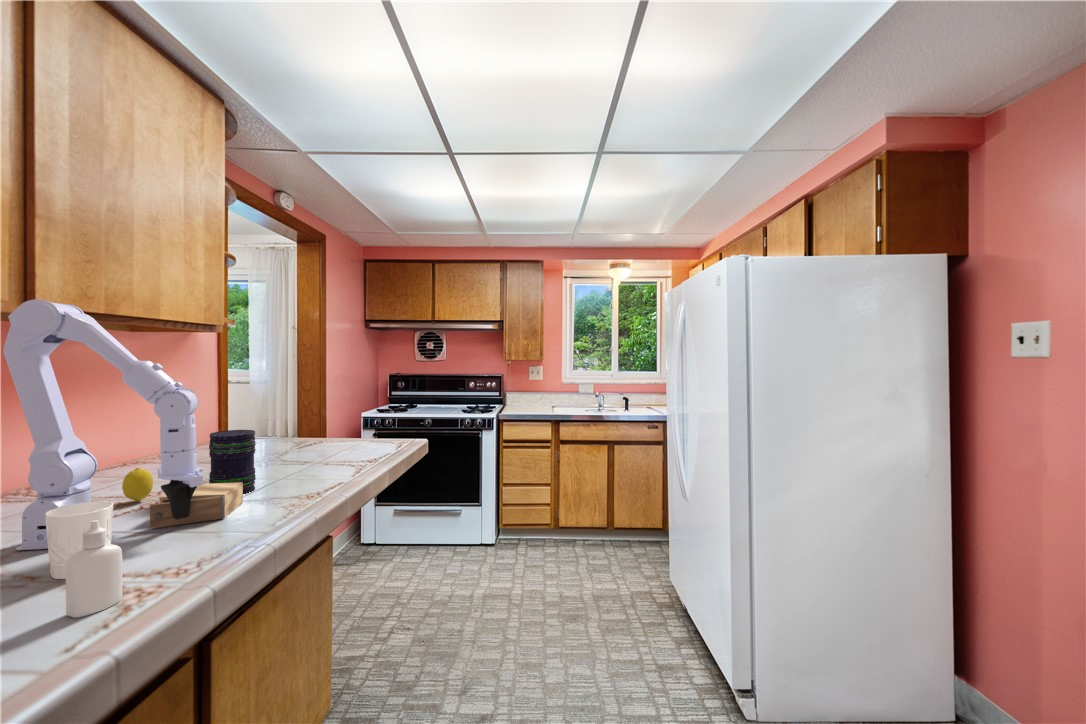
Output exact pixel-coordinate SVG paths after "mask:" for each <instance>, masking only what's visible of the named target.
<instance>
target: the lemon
mask: <svg viewBox="0 0 1086 724" xmlns="http://www.w3.org/2000/svg"><path fill="white" fill-rule="evenodd" d="M152 475H153V474H151V472H149V470H147V469H144V468H141V467H136V468H135V469H133V470H131V471H130V472H128V473H127V474H126V475H125V476H124V477H123V480H122V485H121V487H122V488H121V489H122V492H123V494H124V496H125V497H126V498H127V499H129V500H132V501H134V502H135V503H139V502H141V501H142V500H143V499H145V498H147V496H149V495H150V493H151V492H152V491H153V487H154V478H153V476H152Z"/></svg>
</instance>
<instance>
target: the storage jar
mask: <svg viewBox="0 0 1086 724" xmlns="http://www.w3.org/2000/svg"><path fill="white" fill-rule="evenodd" d="M255 436H256V431H255V430H253V429H231V430H230V429H229V430H221V431H215V432H211V433H209V438H210V440H209V445H208V446H209V449H208V450H209V453H208V455H209V457H210V472H209V473H208V474H209V479H208V484H214V483H237V482H243V494H245V495H247V494H246V493H249V492H251V493H253V492H255V491H254V490H256V486H255V484H256V468H255V453H256V441H257V440H256V437H255ZM252 491H253V492H252ZM249 494H250V493H249Z"/></svg>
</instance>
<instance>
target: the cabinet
mask: <svg viewBox="0 0 1086 724" xmlns="http://www.w3.org/2000/svg"><path fill="white" fill-rule="evenodd" d="M217 496H225V518H226V517H227V515H228V516H229V515H230V514H231V512H232V511H233V510H234V511H235V510H237V509H238V508H239V507H240V506H242V505H243V504H244V503H243V501H244V497H243V496H244V495H243V482H237V483H214V484H209V483H203V485H200V486H197V488H196V489H195V491H194V493H193V496H192V498H191V500H192V499H200V498H209V497H217ZM158 499H159V501H158V503H166V502H169V500H168V498H167V496H166V494H165V493H164V494H163V495H162V496H160V497H159V498H158ZM242 503H243V504H242ZM241 504H242V505H241ZM238 506H239V507H238ZM237 507H238V508H237ZM236 508H237V509H236ZM234 511H233V512H234Z"/></svg>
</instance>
